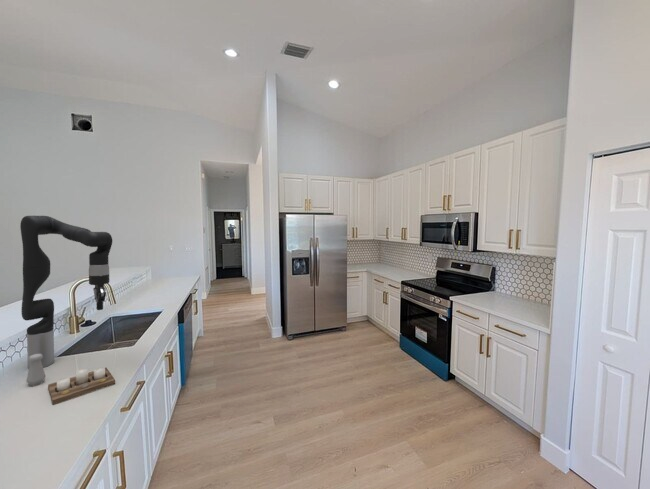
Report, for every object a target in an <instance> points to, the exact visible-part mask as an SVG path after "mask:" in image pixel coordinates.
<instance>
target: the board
mask: <svg viewBox="0 0 650 489" xmlns="http://www.w3.org/2000/svg"><path fill="white" fill-rule="evenodd" d="M104 368H105V378H101V379H98V380H95V381H94V370H93V371H90V372H89V371H88V381H87V382H86V383H83V384H76V375H75V376H73V377H69V378H70V389H67V390H63V391H60V392H57V381H55V382H52V383H48V384H47V389H48V393H49V396H50V400H51V404H52V406H54V405H57V404H60V403H62V402H63V403H64V402H66V401H69V400H71V399H75V398H78V397H81V396H83V395H87V394H90V393H92V392H96V391H99V390H102V389H104V388H107V387H110V386H113V385H115V384H116V378H115V377H114V376H113V375H112V373H111V372H110V370H109V369H108V368H107V367H104Z"/></svg>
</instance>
